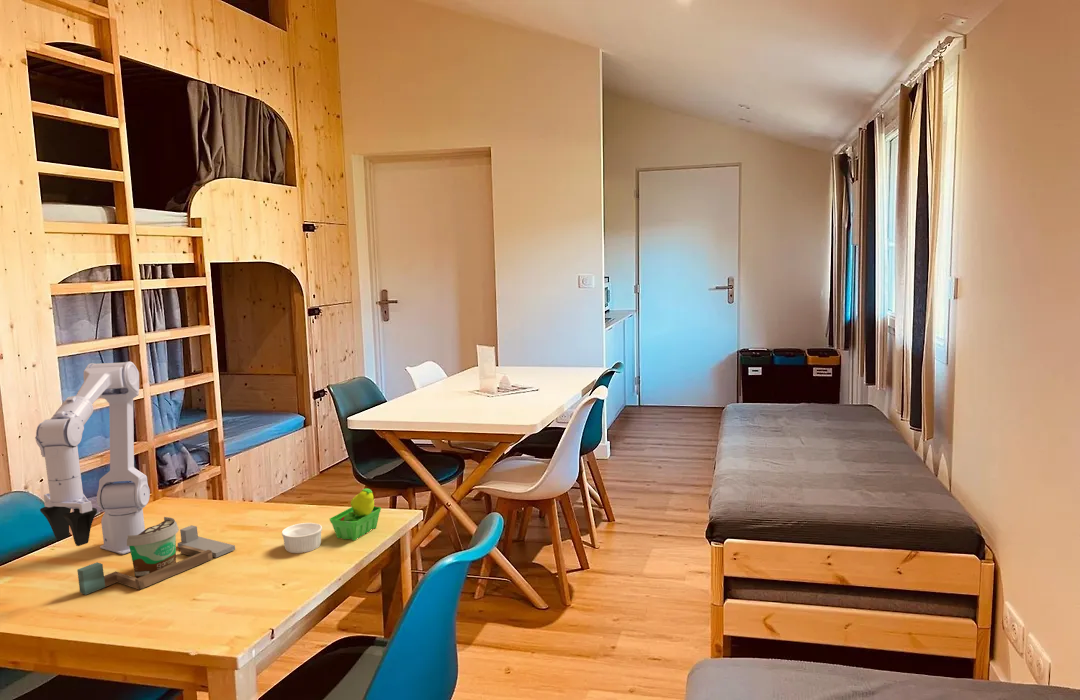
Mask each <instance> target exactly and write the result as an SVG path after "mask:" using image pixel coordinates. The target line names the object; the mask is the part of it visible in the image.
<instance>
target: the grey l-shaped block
mask: <svg viewBox="0 0 1080 700" xmlns="http://www.w3.org/2000/svg"><path fill="white" fill-rule="evenodd" d="M179 531H180V540H181V541H179V542H177V548H179V549H180V546H183V545H186V546H190V547H193V548H197V549H201V550H205V551H206V550H211V551H212V558H219V557H222V556H223V555H226V554H229V553H231V552H233V551H235V550H236V546H235V545H234V544H230V543H227V542H223V541H219V540H215V539H211V538H207V537H202V536H199V534H198V533H199V532H198V527H197V526H195V525H188V526H185V527H183V528H181V529H179Z"/></svg>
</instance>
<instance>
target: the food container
mask: <svg viewBox="0 0 1080 700" xmlns="http://www.w3.org/2000/svg"><path fill="white" fill-rule="evenodd" d="M179 531H180V529H179V526H178V524H177V521H176V520H175V518H172V517H170V516H169V517H167V516H164V517H163V521H161V522H160V523H158V524H156V525H153V526H149V527H147V528H145V530H144V531H143V532H141V533H140V534H138V535H132V536H130V535H128V539H127V546H129V547H130V552H129V553H130V557H131V561H132V565H133V570H134V571H133V572H134V575H135V578H139V577H142V576H144V575H147V574H149V573H152V572H154V571H157V570H159V569H162V568H164V567H167V566H169V565H172V564H174V563H177V547H176V546H177V545H176V544H177V543H176V541H177V539H176V536H177V534H178V532H179Z"/></svg>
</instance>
